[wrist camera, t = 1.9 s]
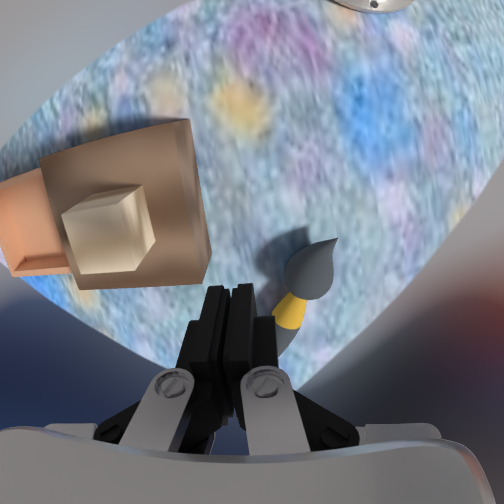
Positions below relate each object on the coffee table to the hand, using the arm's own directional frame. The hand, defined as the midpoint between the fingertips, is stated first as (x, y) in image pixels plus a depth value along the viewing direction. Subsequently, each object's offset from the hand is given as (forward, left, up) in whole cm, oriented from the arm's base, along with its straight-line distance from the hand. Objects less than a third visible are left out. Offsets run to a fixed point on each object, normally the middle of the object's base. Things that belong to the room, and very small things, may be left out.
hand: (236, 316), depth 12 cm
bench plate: (0, -12, -20) cm, 23 cm away
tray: (0, -25, -19) cm, 32 cm away
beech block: (0, -11, -11) cm, 15 cm away
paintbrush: (+14, +3, -20) cm, 24 cm away
